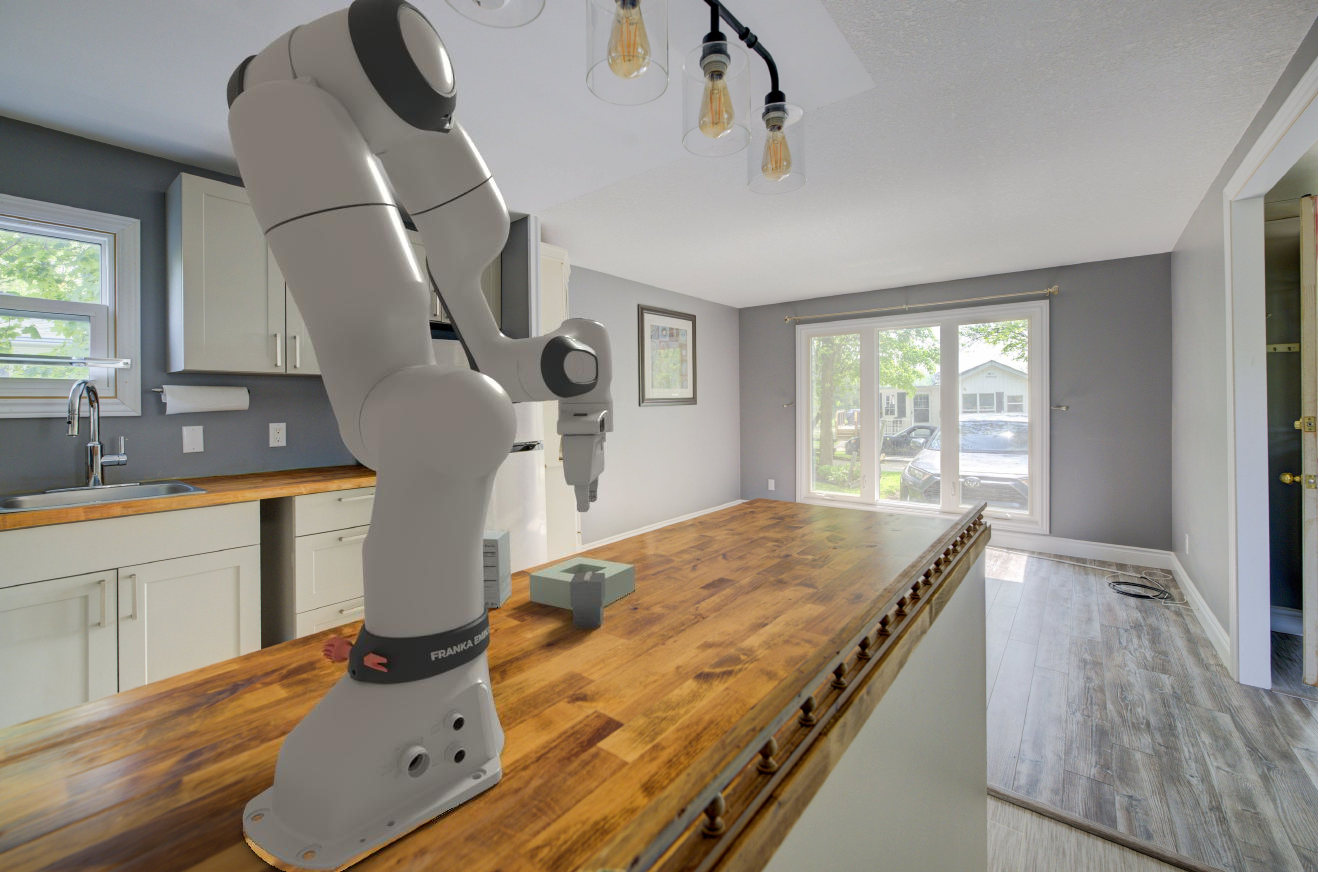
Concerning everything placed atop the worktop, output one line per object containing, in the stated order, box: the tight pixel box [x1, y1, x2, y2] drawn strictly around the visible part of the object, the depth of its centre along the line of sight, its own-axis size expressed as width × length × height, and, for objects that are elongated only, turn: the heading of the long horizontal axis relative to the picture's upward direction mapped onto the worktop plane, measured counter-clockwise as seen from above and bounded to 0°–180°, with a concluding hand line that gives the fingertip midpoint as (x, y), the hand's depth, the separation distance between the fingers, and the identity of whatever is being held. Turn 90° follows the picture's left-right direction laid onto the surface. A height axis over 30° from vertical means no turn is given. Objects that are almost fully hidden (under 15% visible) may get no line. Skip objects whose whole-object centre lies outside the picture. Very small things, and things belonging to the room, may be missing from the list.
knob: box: [570, 571, 605, 629], centre depth 91 cm, size 5×5×8 cm
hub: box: [528, 556, 636, 611], centre depth 104 cm, size 14×14×5 cm
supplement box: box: [483, 529, 512, 609], centre depth 102 cm, size 7×7×13 cm
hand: (587, 506), depth 90 cm, fingers open, 8 cm apart
